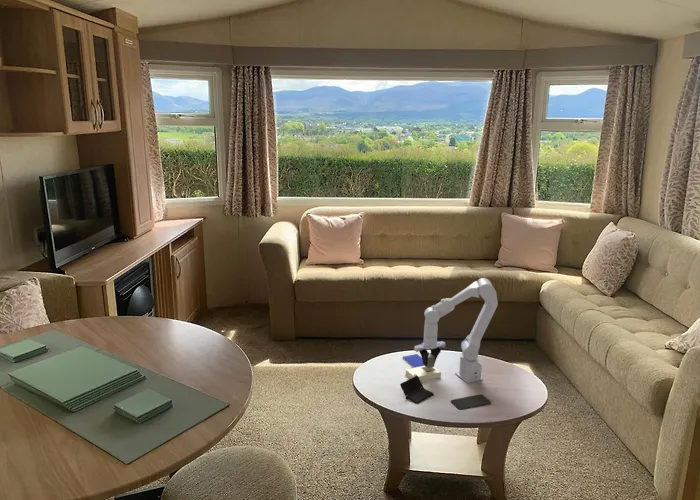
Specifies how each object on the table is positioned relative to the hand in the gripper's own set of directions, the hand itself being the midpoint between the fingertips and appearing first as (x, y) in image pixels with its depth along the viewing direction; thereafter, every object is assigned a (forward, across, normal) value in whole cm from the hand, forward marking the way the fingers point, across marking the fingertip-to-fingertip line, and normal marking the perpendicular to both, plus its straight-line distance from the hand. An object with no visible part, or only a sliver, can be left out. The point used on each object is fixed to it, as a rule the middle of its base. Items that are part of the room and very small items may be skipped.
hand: (428, 364), depth 237 cm
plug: (+2, 0, 0) cm, 2 cm away
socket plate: (+5, +3, 0) cm, 6 cm away
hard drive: (+6, -1, -12) cm, 13 cm away
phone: (+6, -3, +27) cm, 28 cm away
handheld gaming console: (+5, +14, +14) cm, 20 cm away
